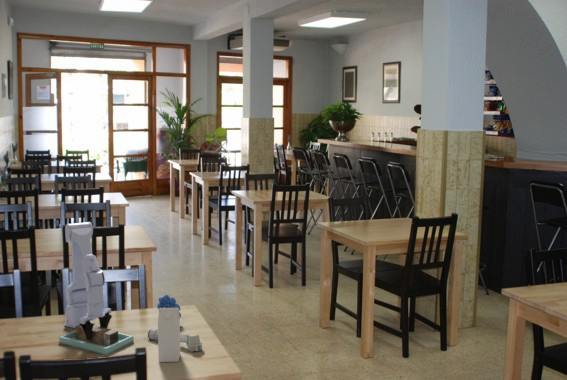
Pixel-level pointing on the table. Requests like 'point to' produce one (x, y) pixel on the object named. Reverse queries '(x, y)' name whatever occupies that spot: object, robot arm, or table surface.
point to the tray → (71, 341)
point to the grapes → (167, 303)
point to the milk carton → (169, 334)
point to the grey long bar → (182, 340)
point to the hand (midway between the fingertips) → (96, 336)
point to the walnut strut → (98, 335)
